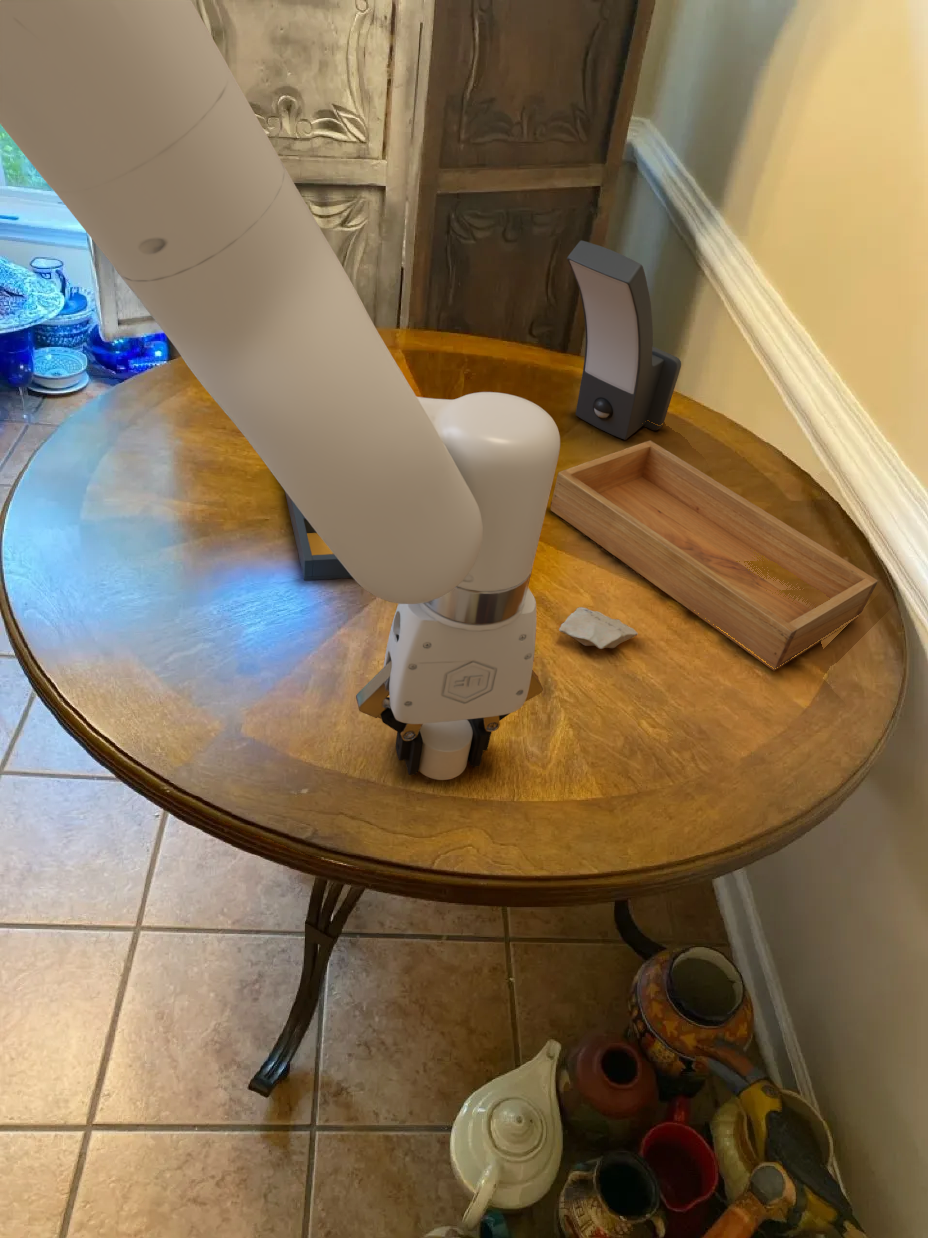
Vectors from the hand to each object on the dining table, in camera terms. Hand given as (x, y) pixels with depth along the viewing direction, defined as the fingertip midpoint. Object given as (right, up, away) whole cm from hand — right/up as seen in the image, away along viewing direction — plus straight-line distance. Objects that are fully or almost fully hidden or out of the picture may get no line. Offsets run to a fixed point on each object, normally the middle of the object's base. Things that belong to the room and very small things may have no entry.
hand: (440, 755), depth 73 cm
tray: (+27, +16, +26) cm, 41 cm away
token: (0, 0, 0) cm, 0 cm away
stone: (+14, +9, +14) cm, 22 cm away
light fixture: (+19, +35, +45) cm, 60 cm away
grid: (-6, +22, +25) cm, 34 cm away
